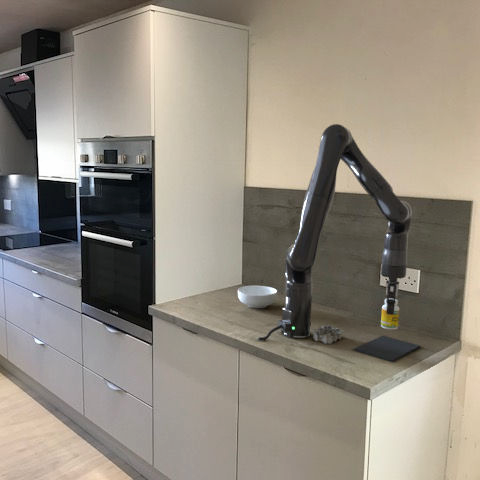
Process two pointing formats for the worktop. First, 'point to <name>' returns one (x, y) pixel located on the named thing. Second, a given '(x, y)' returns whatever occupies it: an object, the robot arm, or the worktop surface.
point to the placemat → (387, 348)
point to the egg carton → (327, 334)
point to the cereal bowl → (257, 296)
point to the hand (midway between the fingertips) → (390, 311)
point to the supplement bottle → (390, 317)
